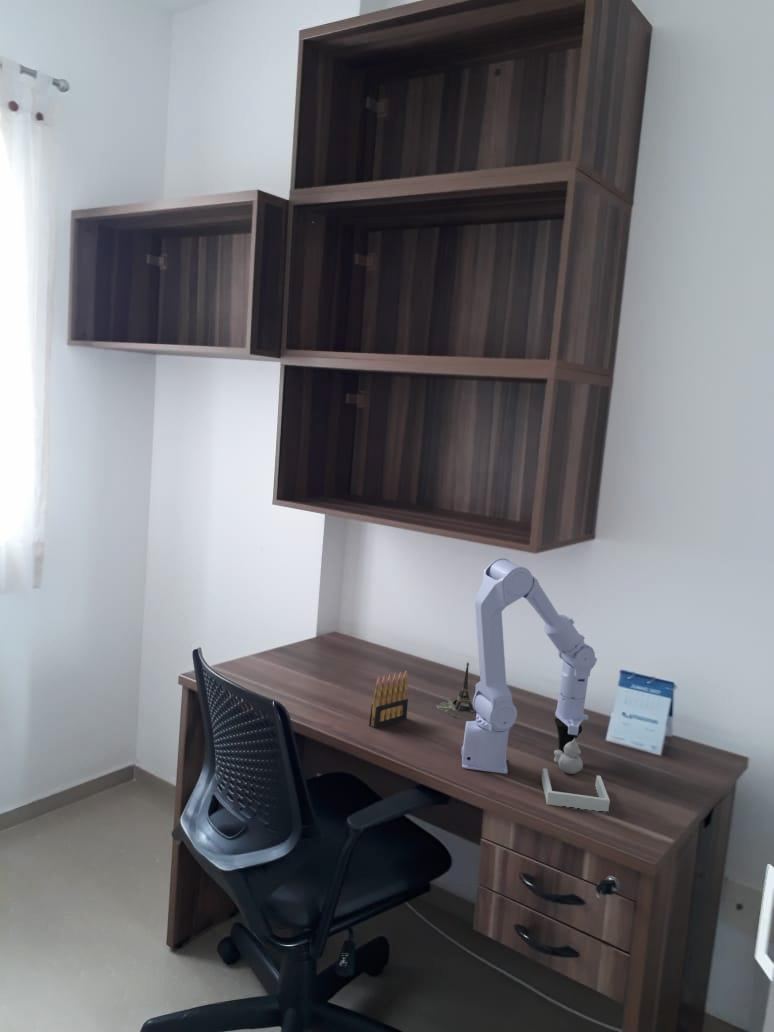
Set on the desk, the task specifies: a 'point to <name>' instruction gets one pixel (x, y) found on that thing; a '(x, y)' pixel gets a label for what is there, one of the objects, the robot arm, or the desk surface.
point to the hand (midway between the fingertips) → (564, 753)
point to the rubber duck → (569, 758)
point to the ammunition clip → (389, 701)
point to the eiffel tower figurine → (458, 700)
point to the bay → (576, 796)
